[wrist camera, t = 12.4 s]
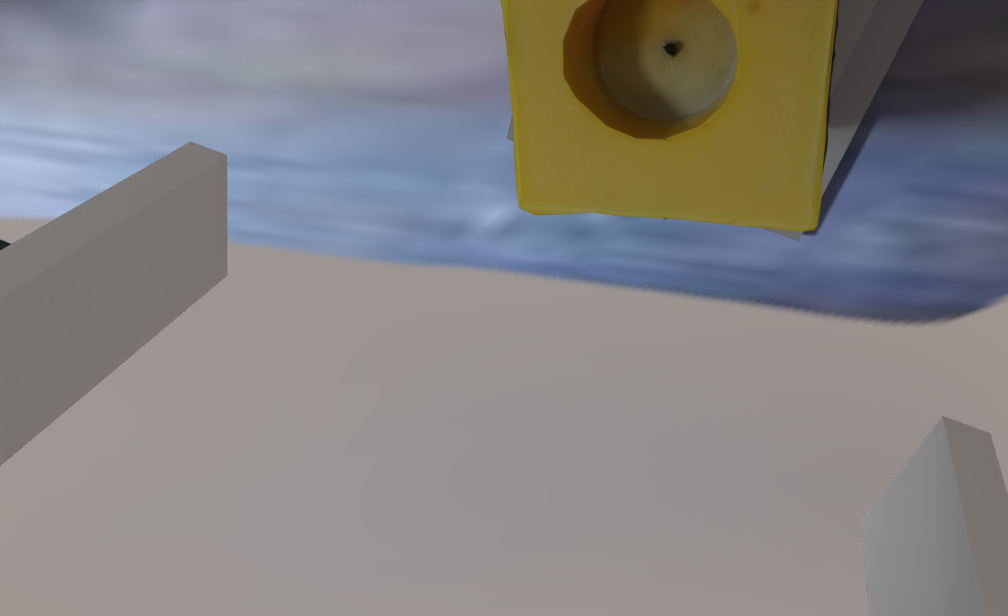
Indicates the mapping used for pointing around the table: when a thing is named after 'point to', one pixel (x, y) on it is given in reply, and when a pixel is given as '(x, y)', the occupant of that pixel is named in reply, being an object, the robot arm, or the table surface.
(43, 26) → the table surface
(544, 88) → the candle
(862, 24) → the coaster
